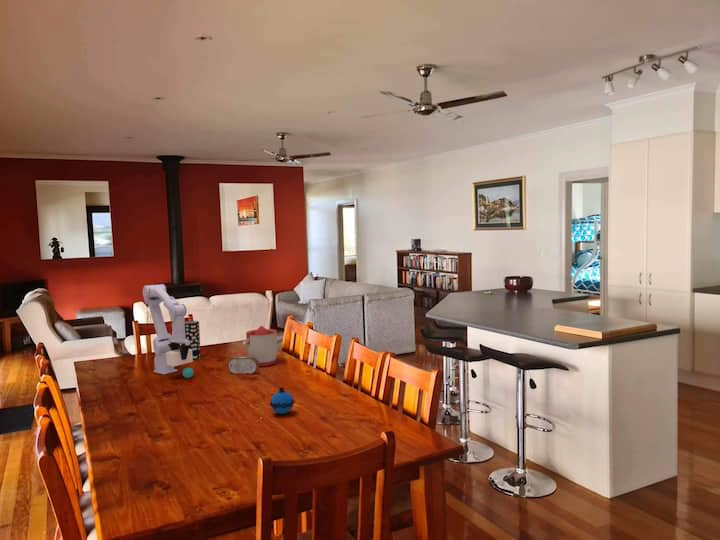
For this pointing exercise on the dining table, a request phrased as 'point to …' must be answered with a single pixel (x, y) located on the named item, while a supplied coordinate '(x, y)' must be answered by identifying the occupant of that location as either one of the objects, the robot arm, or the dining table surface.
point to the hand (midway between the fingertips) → (180, 358)
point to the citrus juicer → (262, 345)
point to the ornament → (282, 402)
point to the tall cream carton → (178, 357)
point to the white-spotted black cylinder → (193, 338)
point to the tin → (243, 365)
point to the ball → (188, 372)
